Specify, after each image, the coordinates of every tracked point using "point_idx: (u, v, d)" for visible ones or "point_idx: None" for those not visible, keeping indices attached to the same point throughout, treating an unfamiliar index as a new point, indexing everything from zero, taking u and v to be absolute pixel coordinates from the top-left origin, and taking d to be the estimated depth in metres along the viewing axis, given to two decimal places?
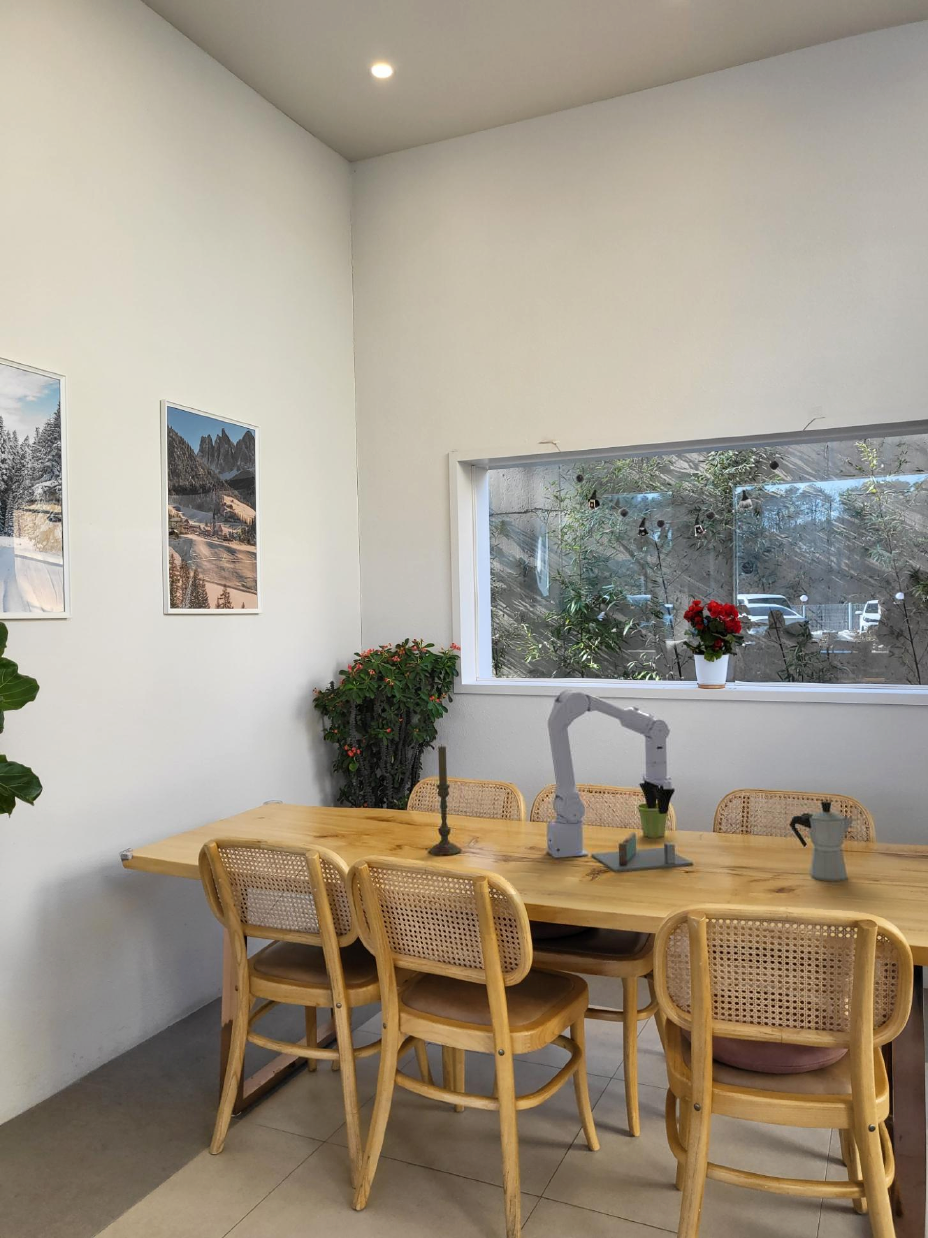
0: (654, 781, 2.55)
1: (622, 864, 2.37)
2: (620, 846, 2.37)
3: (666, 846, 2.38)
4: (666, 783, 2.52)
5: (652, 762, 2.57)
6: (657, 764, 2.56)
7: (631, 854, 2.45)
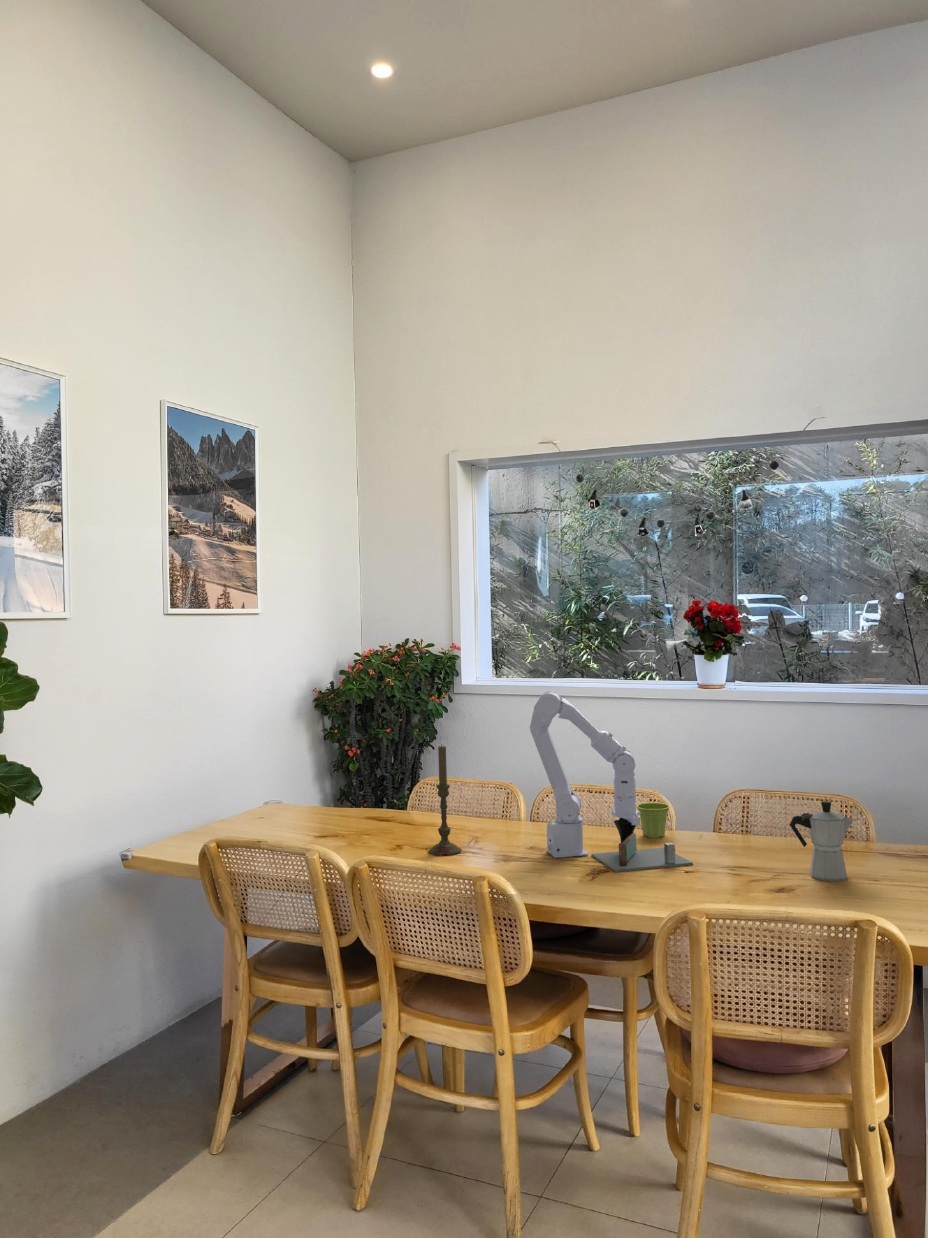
0: (623, 816, 2.48)
1: (622, 864, 2.37)
2: (620, 846, 2.37)
3: (666, 846, 2.38)
4: (634, 819, 2.44)
5: (617, 796, 2.50)
6: (626, 799, 2.49)
7: (631, 854, 2.45)
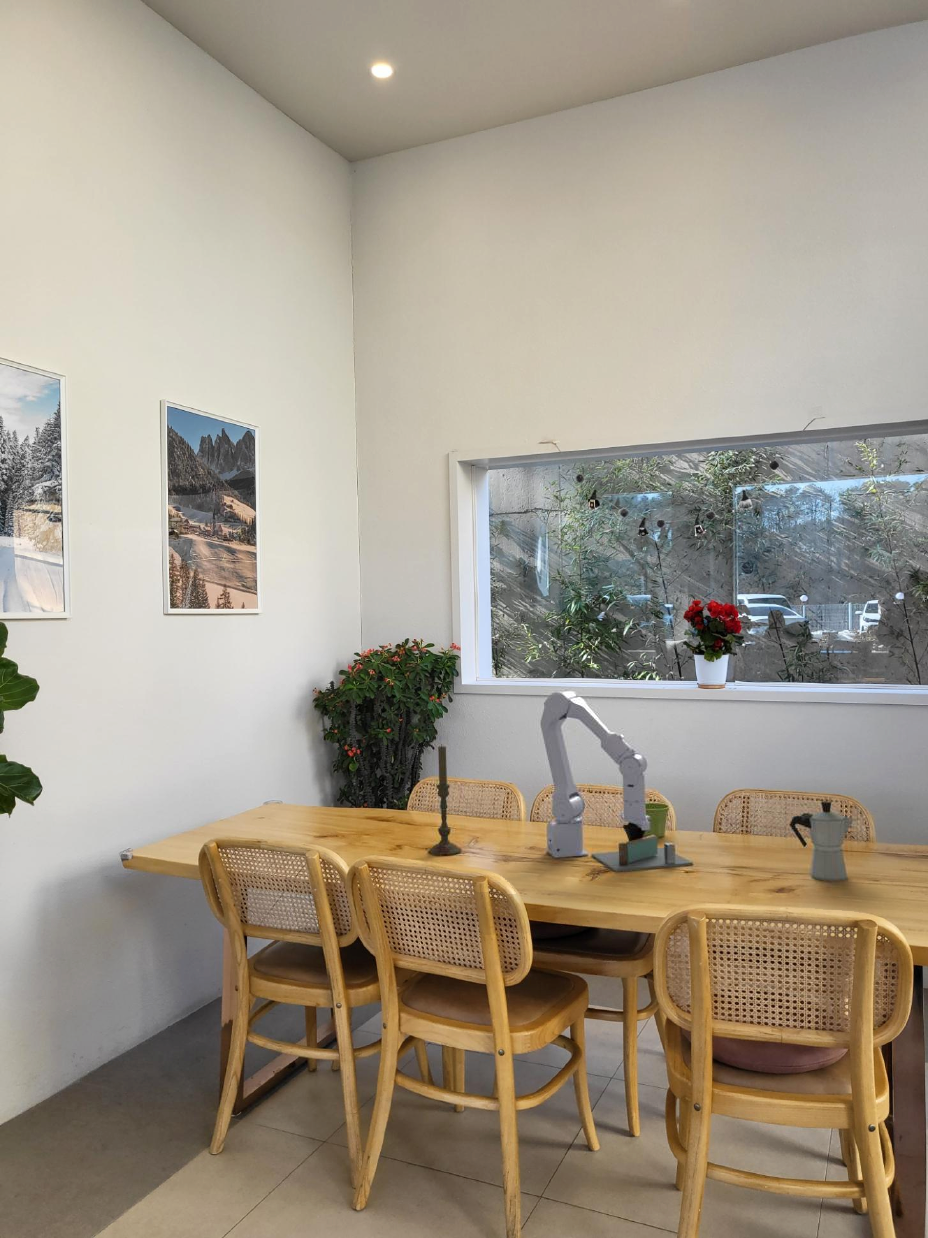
0: (632, 821, 2.42)
1: (622, 864, 2.37)
2: (620, 846, 2.37)
3: (666, 846, 2.38)
4: (644, 824, 2.38)
5: (624, 800, 2.44)
6: (635, 803, 2.42)
7: (643, 856, 2.42)
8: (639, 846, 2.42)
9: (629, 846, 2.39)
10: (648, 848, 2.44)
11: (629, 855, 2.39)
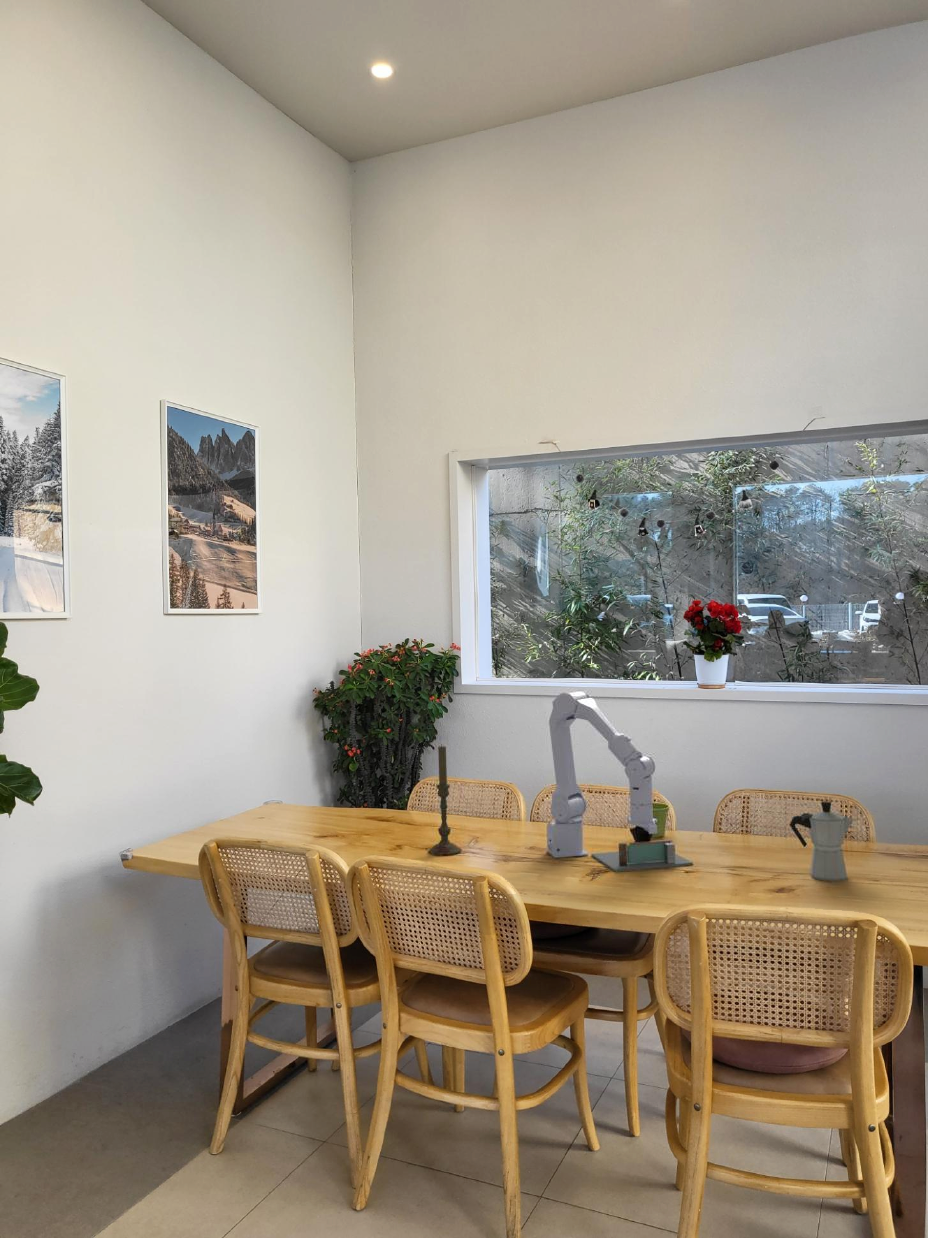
0: (639, 825, 2.37)
1: (622, 864, 2.37)
2: (620, 846, 2.37)
3: (666, 846, 2.38)
4: (651, 827, 2.34)
5: (630, 803, 2.41)
6: (642, 806, 2.38)
7: (650, 859, 2.39)
8: (645, 849, 2.39)
9: (630, 847, 2.38)
10: (659, 852, 2.39)
11: (630, 856, 2.38)
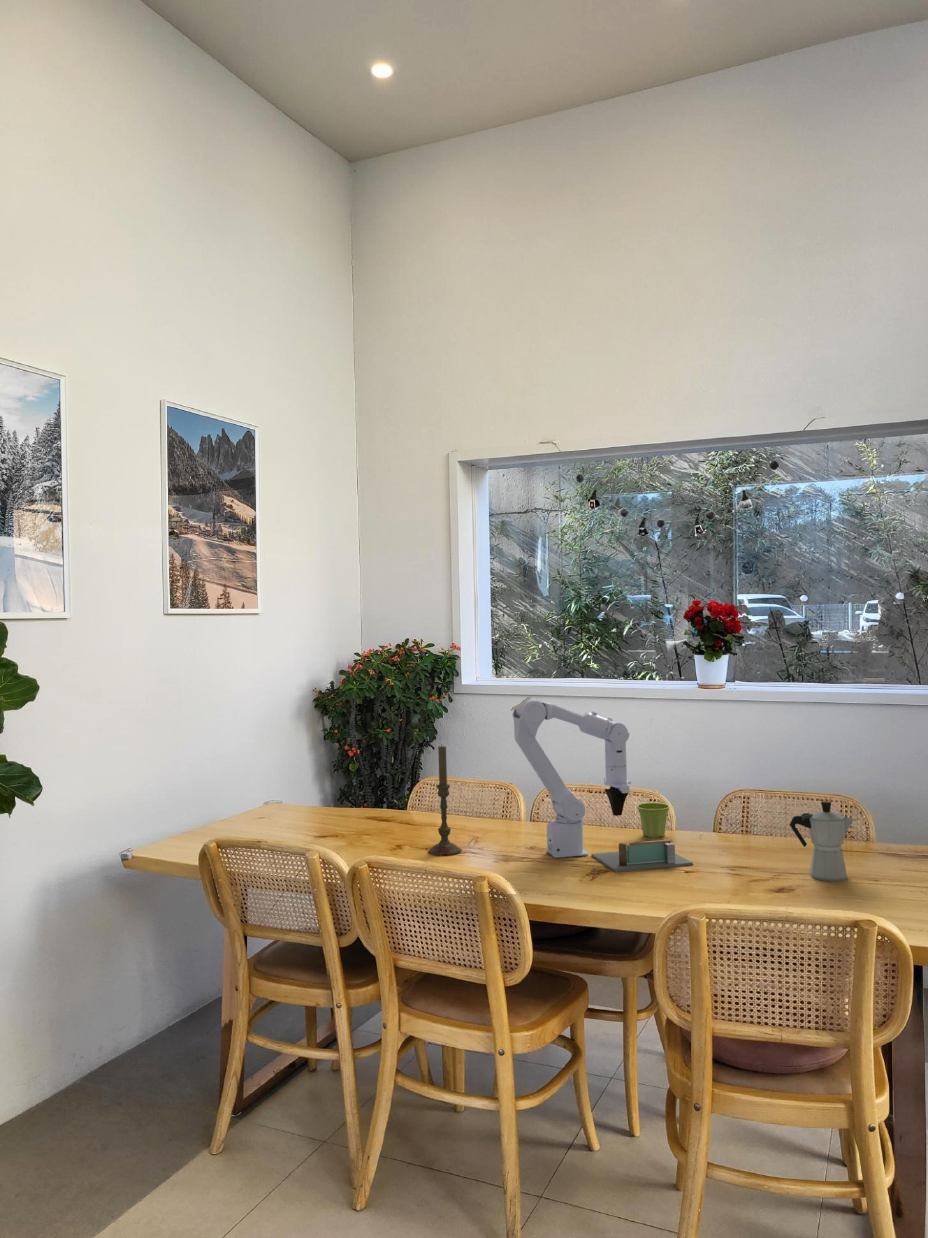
0: (613, 785, 2.53)
1: (622, 864, 2.37)
2: (620, 846, 2.37)
3: (666, 846, 2.38)
4: (624, 787, 2.50)
5: (612, 766, 2.55)
6: (616, 768, 2.54)
7: (650, 859, 2.39)
8: (645, 849, 2.39)
9: (630, 847, 2.38)
10: (659, 852, 2.39)
11: (630, 856, 2.38)
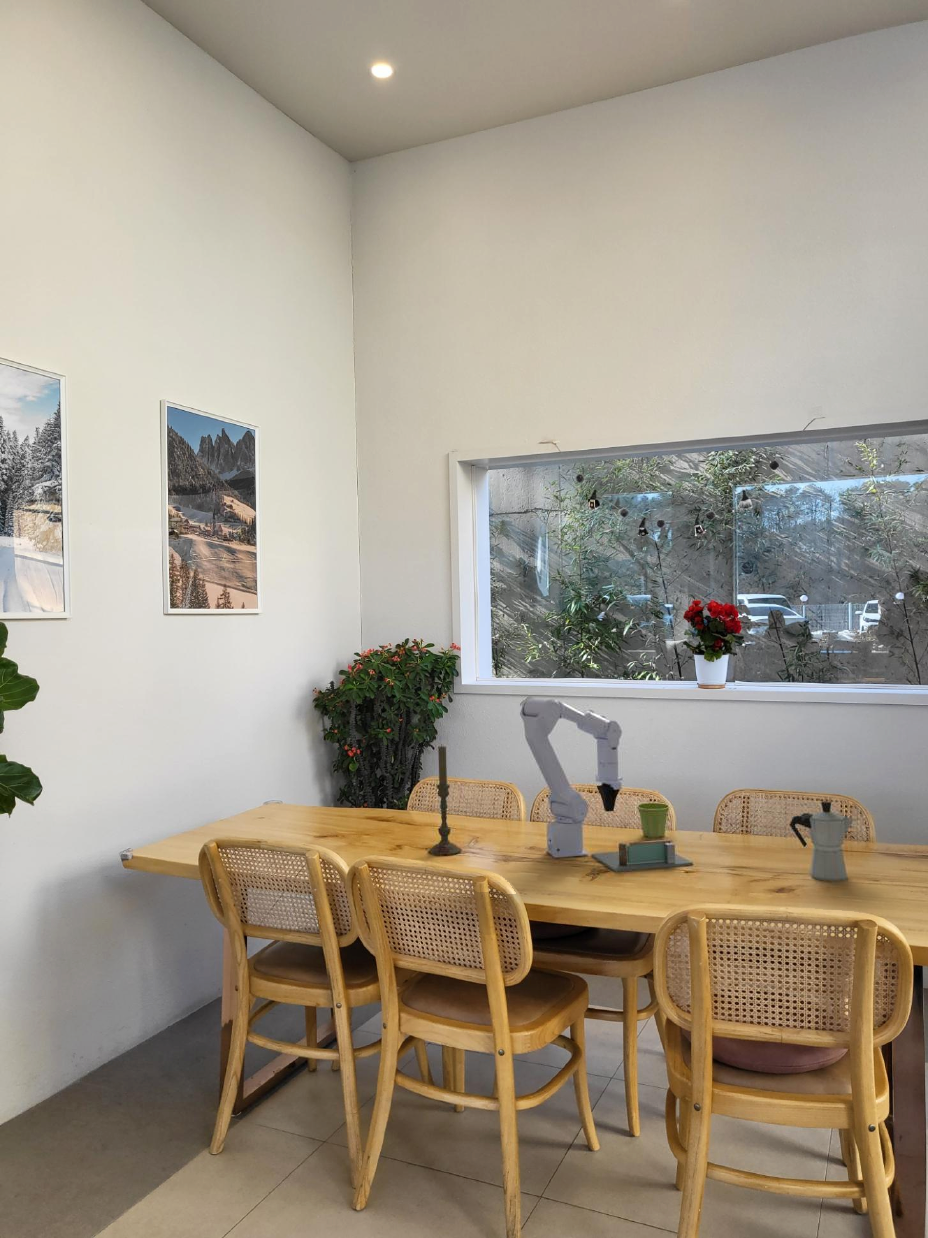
0: (605, 782, 2.59)
1: (622, 864, 2.37)
2: (620, 846, 2.37)
3: (666, 846, 2.38)
4: (616, 783, 2.56)
5: (608, 763, 2.60)
6: (608, 765, 2.60)
7: (650, 859, 2.39)
8: (645, 849, 2.39)
9: (630, 847, 2.38)
10: (659, 852, 2.39)
11: (630, 856, 2.38)
